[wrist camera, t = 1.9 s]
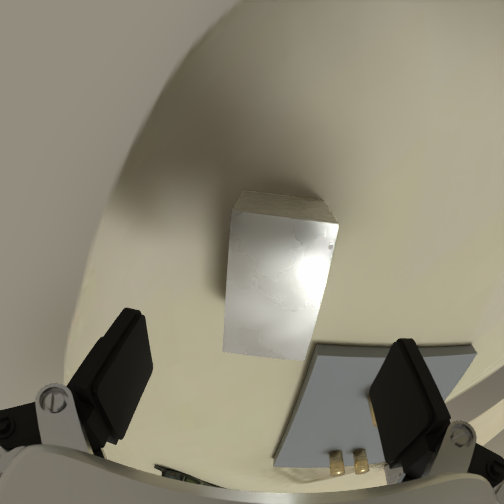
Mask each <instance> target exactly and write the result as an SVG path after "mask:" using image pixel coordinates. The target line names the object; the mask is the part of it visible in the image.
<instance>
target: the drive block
mask: <svg viewBox="0 0 504 504" xmlns="http://www.w3.org/2000/svg"><path fill="white" fill-rule="evenodd" d="M338 227H339V224H338V222H337V221H336V219H335V218H334V216H333V214H332V213H331V211H330V210H329V208H328V207H327V205H326V203H325V202H324V200H318V199H311V198H304V197H297V196H289V195H282V194H274V193H265V192H257V191H248V190H243V192H242V193H241V195H240V197H239V198H238V200H237V202H236V204H235V206H234V207H233V209H232V211H231V224H230V237H229V251H228V266H227V282H226V298H225V316H224V335H223V352H228V353H235V354H243V355H251V356H259V357H268V358H277V359H288V360H299V361H304V360H305V357H306V354H307V351H308V347H309V344H310V340H311V337H312V333H313V330H314V326H315V323H316V319H317V316H318V312H319V308H320V304H321V301H322V297H323V293H324V289H325V285H326V281H327V277H328V272H329V268H330V264H331V260H332V255H333V251H334V246H335V242H336V237H337V232H338Z"/></svg>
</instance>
